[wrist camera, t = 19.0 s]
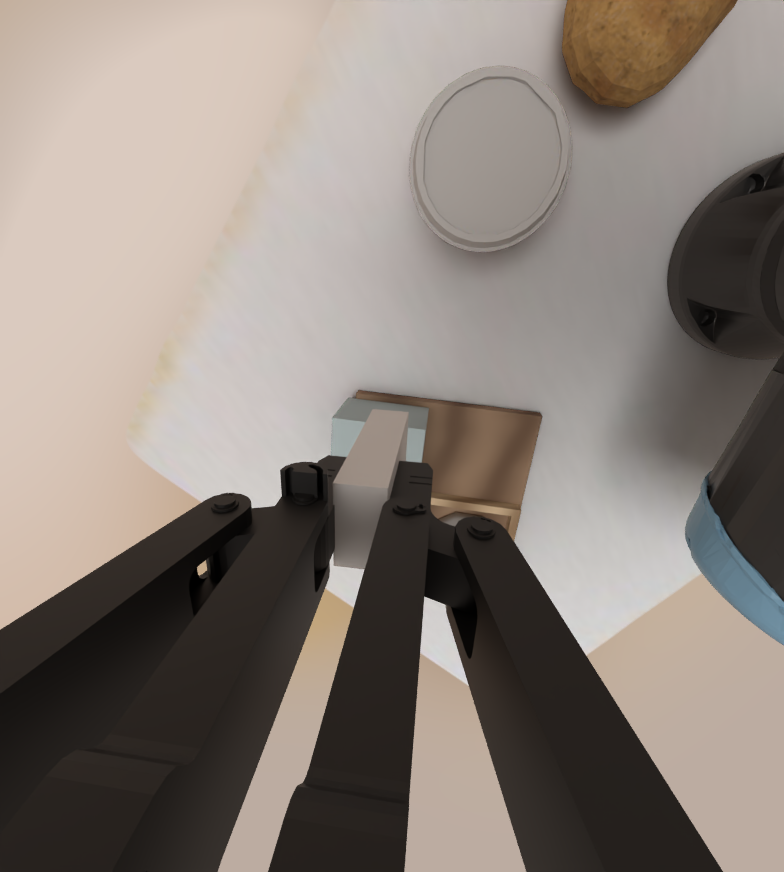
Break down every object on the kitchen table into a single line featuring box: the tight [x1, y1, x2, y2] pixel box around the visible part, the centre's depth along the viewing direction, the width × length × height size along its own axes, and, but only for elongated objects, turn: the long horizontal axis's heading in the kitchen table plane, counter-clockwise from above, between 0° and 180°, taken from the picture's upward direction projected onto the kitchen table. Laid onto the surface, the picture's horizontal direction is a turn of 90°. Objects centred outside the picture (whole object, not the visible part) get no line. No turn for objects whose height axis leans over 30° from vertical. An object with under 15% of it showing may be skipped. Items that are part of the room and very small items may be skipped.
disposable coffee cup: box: [409, 66, 572, 252], centre depth 30 cm, size 10×10×12 cm
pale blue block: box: [331, 398, 429, 463], centre depth 40 cm, size 8×8×6 cm
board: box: [356, 390, 542, 541], centre depth 44 cm, size 18×20×4 cm
